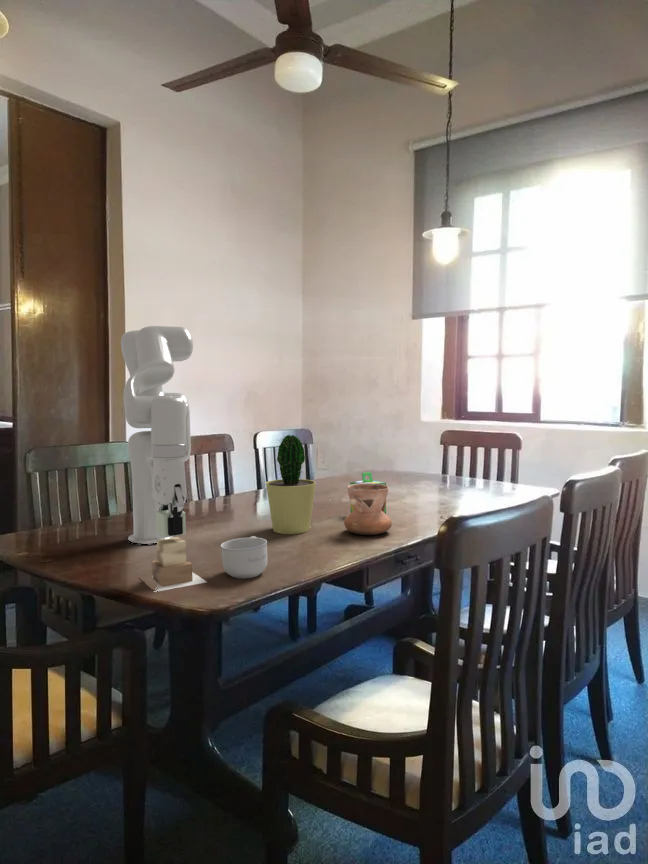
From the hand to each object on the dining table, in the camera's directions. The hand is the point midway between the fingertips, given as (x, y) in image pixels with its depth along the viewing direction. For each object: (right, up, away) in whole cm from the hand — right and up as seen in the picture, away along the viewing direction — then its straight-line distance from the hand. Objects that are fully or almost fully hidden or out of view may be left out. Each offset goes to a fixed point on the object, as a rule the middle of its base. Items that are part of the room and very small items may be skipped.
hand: (171, 531), depth 138 cm
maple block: (0, -7, +1) cm, 7 cm away
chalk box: (+50, -6, +73) cm, 88 cm away
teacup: (+16, -11, +7) cm, 21 cm away
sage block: (0, -1, 0) cm, 1 cm away
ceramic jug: (+48, -8, +48) cm, 68 cm away
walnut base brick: (0, -11, +1) cm, 11 cm away
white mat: (0, -12, +1) cm, 12 cm away
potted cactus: (+24, -8, +51) cm, 57 cm away
